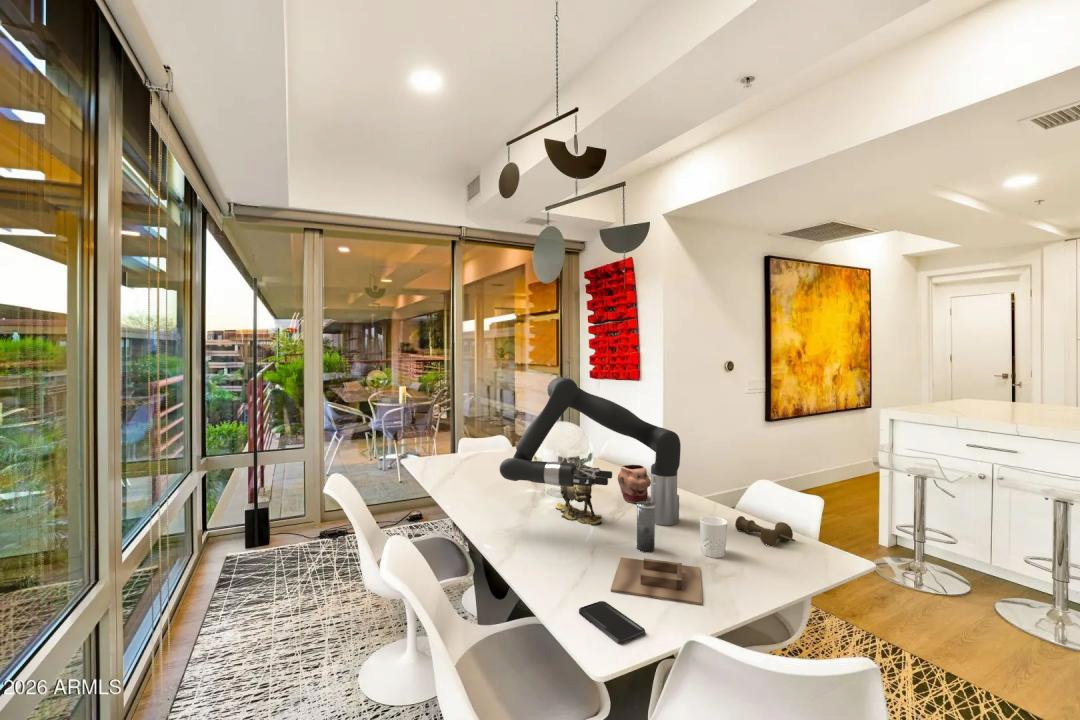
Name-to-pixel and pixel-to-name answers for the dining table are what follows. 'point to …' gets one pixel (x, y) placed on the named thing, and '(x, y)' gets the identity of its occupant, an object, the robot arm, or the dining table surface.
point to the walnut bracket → (658, 580)
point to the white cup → (713, 536)
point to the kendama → (766, 531)
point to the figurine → (579, 495)
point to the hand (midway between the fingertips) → (610, 478)
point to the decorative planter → (634, 483)
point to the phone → (612, 622)
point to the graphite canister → (646, 526)
